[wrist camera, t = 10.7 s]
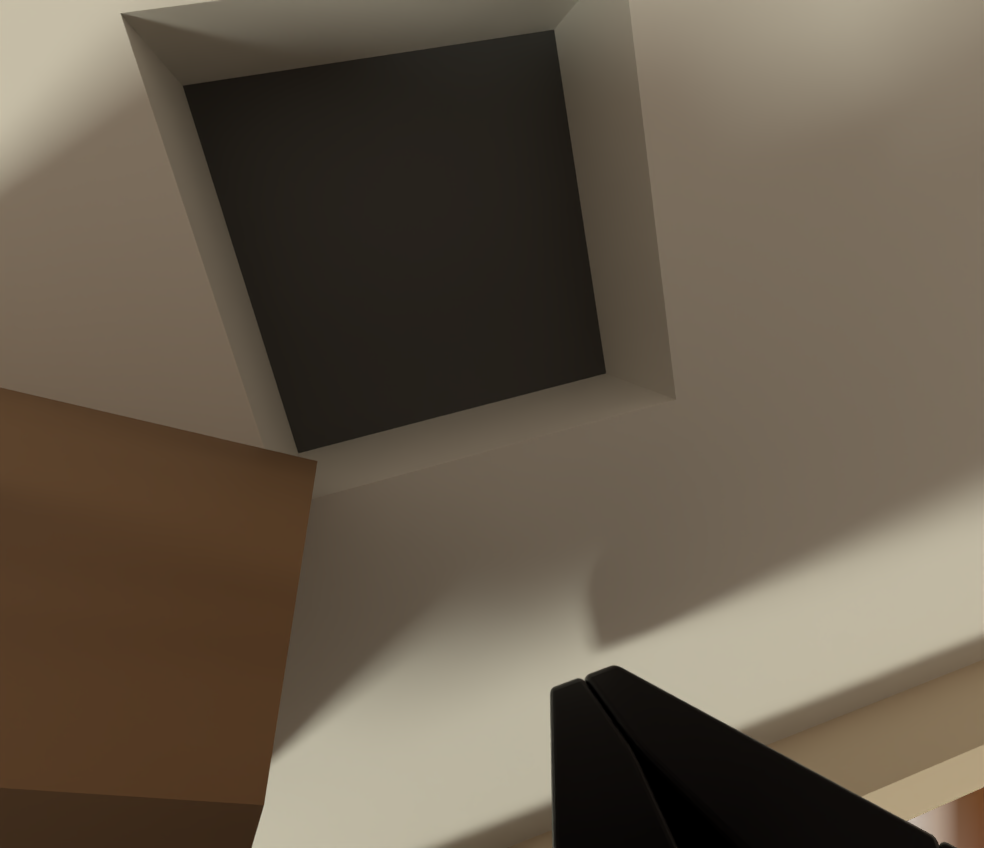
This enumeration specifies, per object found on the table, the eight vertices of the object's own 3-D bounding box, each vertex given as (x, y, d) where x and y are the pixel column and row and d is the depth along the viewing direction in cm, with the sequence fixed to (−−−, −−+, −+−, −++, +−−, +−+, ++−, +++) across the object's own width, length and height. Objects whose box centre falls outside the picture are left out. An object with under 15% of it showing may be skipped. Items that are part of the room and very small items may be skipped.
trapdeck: (1425, 416, 15) (1757, 459, 12) (-196, 1009, 9) (-547, 1486, 6) (1571, -154, 12) (2102, -340, 8) (-852, 180, 6) (-2867, 20, 2)
